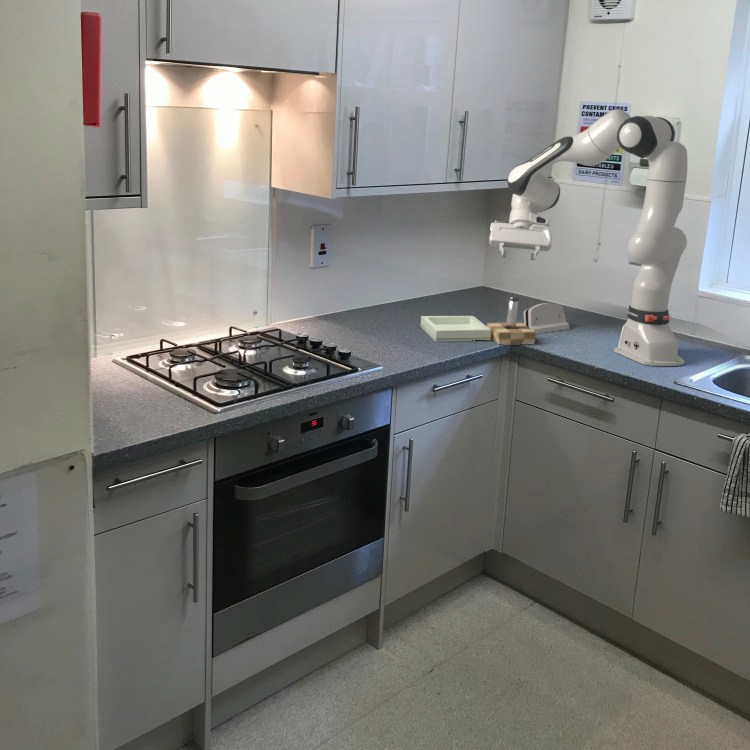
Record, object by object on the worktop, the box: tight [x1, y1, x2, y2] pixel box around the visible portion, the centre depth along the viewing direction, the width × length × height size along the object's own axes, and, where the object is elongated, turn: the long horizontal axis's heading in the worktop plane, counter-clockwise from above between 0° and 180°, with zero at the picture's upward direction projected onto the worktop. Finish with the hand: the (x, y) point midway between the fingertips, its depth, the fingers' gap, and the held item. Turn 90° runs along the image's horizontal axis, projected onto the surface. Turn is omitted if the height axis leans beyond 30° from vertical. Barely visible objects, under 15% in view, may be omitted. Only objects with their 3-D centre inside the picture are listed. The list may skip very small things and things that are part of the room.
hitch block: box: [486, 321, 537, 346], centre depth 286 cm, size 12×12×4 cm
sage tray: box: [420, 315, 491, 342], centre depth 290 cm, size 18×18×4 cm
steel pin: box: [506, 295, 520, 329], centre depth 285 cm, size 3×3×14 cm
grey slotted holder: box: [523, 302, 570, 333], centre depth 301 cm, size 17×5×10 cm, turn 124°
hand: (518, 257), depth 291 cm, fingers open, 8 cm apart
